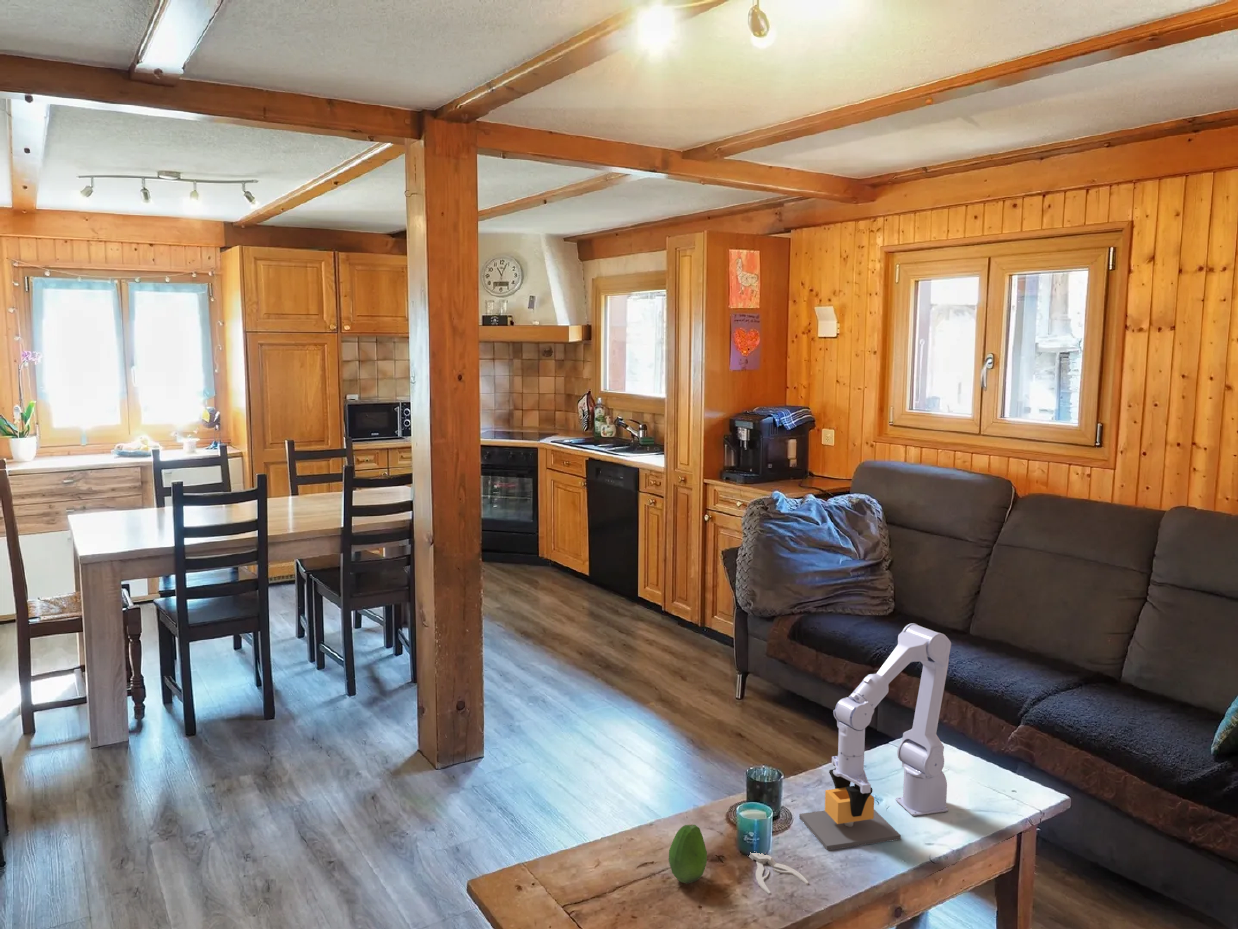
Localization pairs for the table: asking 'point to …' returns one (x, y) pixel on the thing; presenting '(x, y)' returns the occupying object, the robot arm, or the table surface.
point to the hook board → (848, 830)
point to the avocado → (688, 854)
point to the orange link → (845, 806)
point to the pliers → (764, 859)
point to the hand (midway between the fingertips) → (849, 808)
